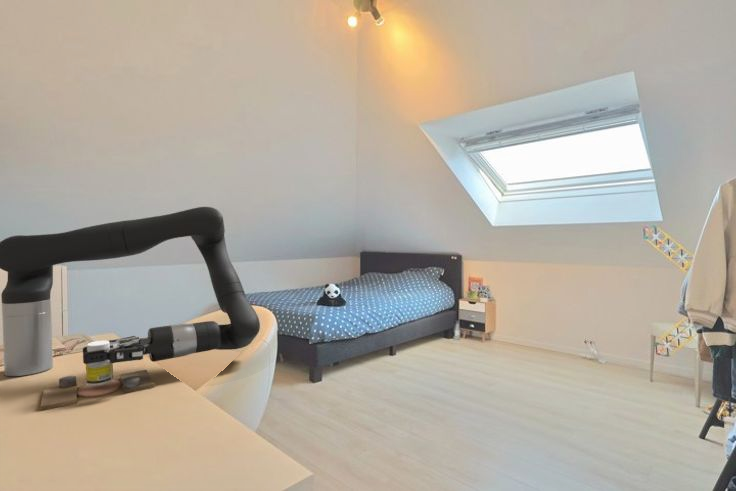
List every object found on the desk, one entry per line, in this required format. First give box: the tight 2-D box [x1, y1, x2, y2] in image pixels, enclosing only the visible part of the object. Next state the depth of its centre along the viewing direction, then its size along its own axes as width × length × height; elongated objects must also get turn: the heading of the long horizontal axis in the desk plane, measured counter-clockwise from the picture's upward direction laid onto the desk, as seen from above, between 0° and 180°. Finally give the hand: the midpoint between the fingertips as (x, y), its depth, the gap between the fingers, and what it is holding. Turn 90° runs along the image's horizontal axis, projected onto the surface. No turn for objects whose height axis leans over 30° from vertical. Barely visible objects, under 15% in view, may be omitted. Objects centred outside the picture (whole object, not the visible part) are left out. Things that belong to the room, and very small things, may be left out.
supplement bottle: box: [85, 340, 114, 386], centre depth 87 cm, size 5×5×8 cm
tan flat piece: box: [39, 369, 155, 411], centre depth 87 cm, size 12×19×2 cm, turn 125°
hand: (83, 355), depth 85 cm, fingers open, 5 cm apart
